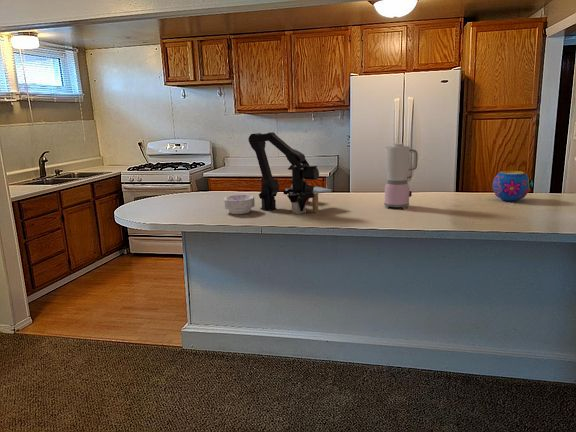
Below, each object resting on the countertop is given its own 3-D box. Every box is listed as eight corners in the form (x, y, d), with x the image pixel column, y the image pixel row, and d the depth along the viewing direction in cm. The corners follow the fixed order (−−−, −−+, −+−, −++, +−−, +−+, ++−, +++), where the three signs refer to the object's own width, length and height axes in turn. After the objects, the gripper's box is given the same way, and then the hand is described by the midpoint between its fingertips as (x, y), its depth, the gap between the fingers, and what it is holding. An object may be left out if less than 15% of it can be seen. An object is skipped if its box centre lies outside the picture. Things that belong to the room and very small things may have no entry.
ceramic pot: (535, 203, 224) (538, 174, 221) (500, 204, 225) (502, 174, 221) (518, 196, 241) (521, 169, 238) (485, 197, 242) (487, 170, 238)
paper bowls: (227, 217, 214) (226, 201, 212) (222, 210, 228) (221, 195, 227) (257, 214, 218) (257, 198, 216) (251, 208, 232) (251, 193, 231)
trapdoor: (310, 198, 216) (310, 192, 216) (297, 195, 226) (296, 189, 226) (331, 195, 223) (331, 189, 223) (317, 192, 233) (317, 186, 232)
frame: (315, 213, 216) (314, 193, 214) (295, 207, 230) (295, 188, 228) (318, 212, 217) (318, 192, 215) (298, 207, 231) (298, 188, 229)
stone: (297, 213, 217) (297, 203, 216) (291, 212, 221) (291, 202, 220) (305, 212, 219) (305, 202, 218) (299, 210, 223) (299, 201, 222)
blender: (383, 209, 221) (385, 144, 213) (383, 204, 232) (385, 142, 225) (416, 209, 217) (419, 144, 210) (414, 204, 229) (417, 142, 222)
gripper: (322, 179, 213) (323, 210, 216) (300, 175, 228) (301, 205, 232) (303, 181, 207) (304, 214, 211) (282, 177, 222) (283, 208, 226)
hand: (298, 210), depth 220 cm, fingers closed on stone, 5 cm apart
